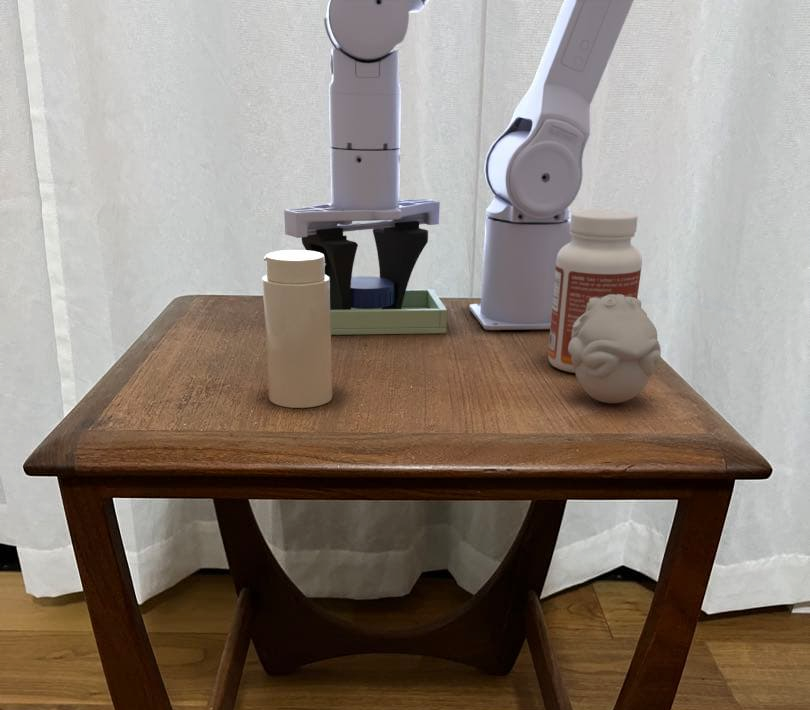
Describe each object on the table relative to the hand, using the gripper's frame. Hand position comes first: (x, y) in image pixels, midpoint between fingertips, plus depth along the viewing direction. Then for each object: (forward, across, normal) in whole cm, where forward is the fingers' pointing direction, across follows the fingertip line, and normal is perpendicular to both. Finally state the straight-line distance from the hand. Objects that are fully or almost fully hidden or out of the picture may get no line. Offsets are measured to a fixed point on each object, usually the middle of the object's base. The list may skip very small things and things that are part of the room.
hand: (365, 315), depth 78 cm
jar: (+1, -15, -14) cm, 21 cm away
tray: (+1, 0, 0) cm, 1 cm away
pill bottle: (+1, +7, -20) cm, 21 cm away
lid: (-2, 0, 0) cm, 3 cm away
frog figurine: (+1, +2, -27) cm, 27 cm away
